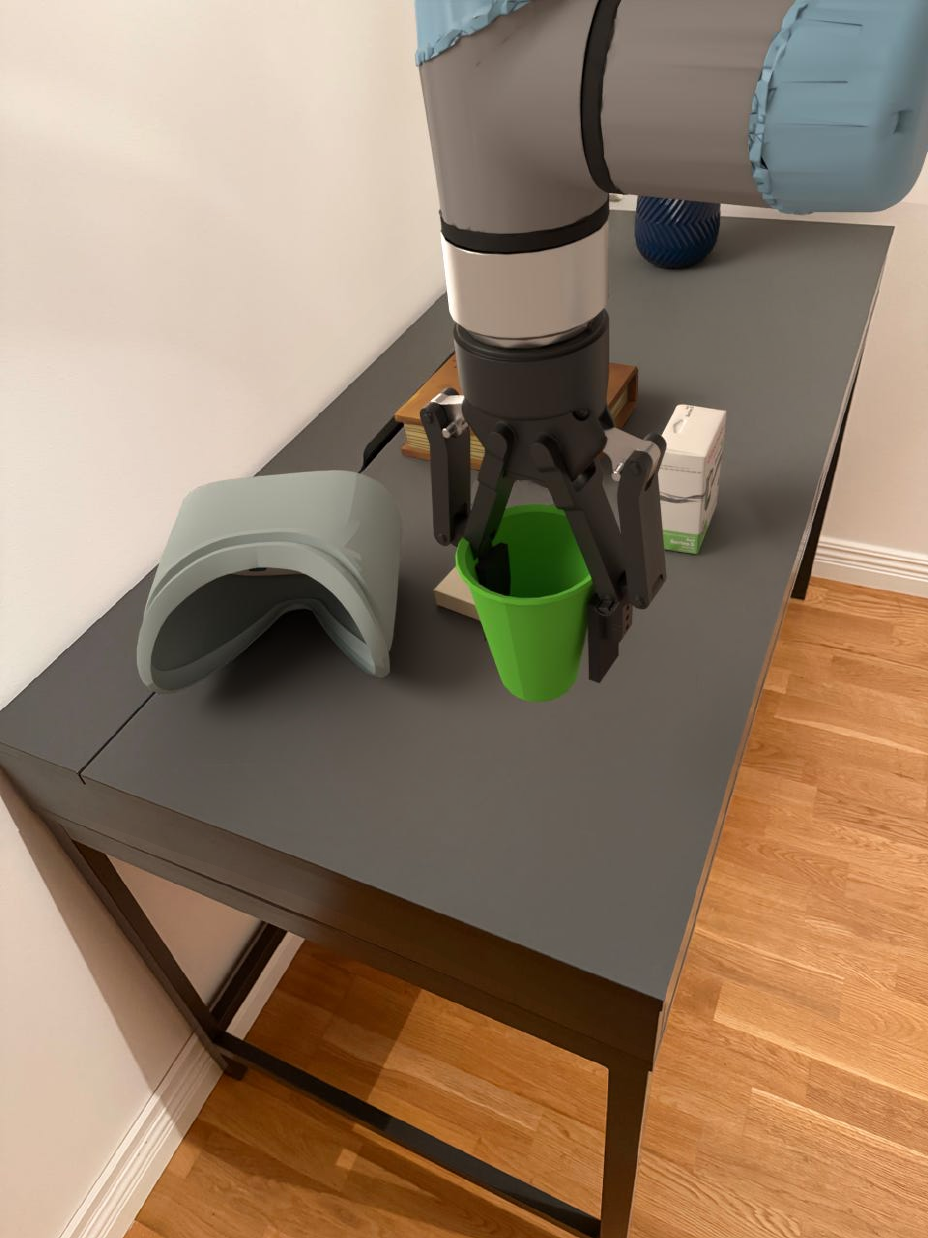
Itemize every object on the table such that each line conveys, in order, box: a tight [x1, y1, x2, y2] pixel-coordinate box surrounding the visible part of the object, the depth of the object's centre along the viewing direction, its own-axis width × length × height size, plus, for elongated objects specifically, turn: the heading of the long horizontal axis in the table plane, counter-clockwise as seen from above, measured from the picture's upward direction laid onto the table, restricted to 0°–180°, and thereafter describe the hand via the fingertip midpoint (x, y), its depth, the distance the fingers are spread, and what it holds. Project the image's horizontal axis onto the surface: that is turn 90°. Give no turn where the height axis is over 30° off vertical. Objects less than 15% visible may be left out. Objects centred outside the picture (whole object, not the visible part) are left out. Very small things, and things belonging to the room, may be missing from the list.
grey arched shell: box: [136, 469, 403, 695], centre depth 82 cm, size 22×19×13 cm
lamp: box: [634, 195, 722, 269], centre depth 127 cm, size 20×20×37 cm
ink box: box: [658, 404, 727, 555], centre depth 88 cm, size 9×5×12 cm, turn 156°
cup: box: [454, 503, 596, 703], centre depth 56 cm, size 9×9×11 cm
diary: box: [394, 352, 639, 471], centre depth 107 cm, size 23×19×6 cm
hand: (550, 647), depth 58 cm, fingers closed on cup, 7 cm apart
